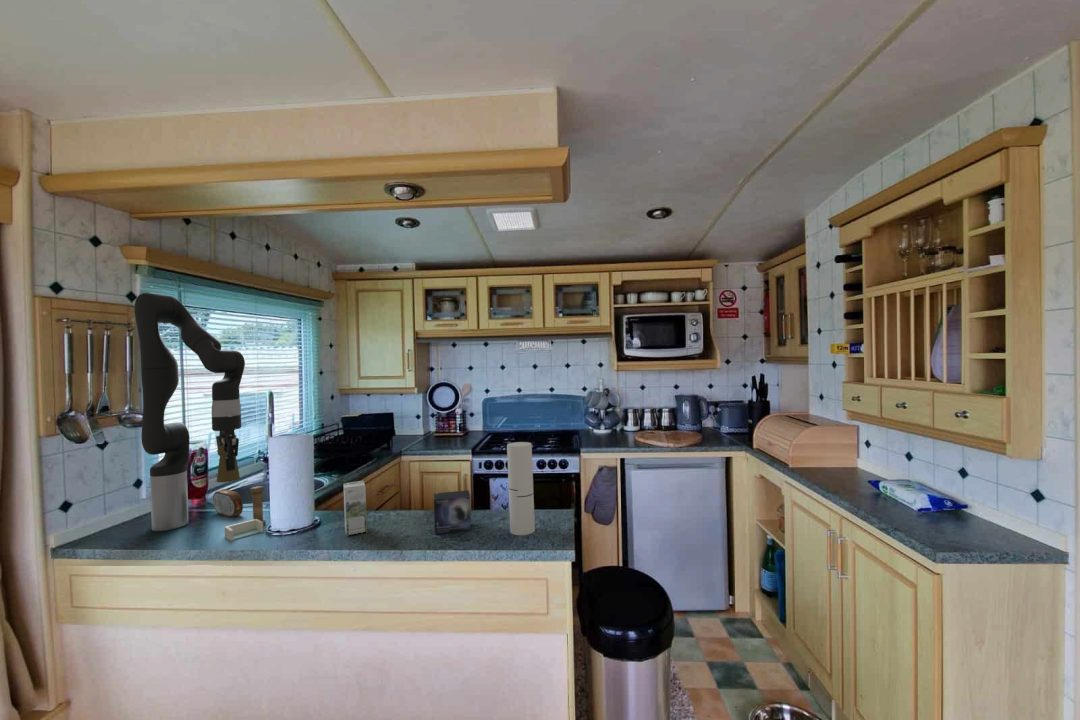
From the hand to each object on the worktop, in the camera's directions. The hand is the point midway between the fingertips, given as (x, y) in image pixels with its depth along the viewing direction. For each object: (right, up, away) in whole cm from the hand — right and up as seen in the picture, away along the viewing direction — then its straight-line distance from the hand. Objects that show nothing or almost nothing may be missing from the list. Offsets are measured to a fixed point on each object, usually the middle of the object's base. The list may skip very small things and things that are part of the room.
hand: (228, 469), depth 140 cm
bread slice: (-11, -20, +16) cm, 28 cm away
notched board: (+8, -19, -4) cm, 21 cm away
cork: (0, -4, 0) cm, 4 cm away
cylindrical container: (+92, -16, -10) cm, 94 cm away
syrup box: (+42, -18, -6) cm, 46 cm away
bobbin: (+7, -19, +4) cm, 20 cm away
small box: (+71, -17, -7) cm, 73 cm away
